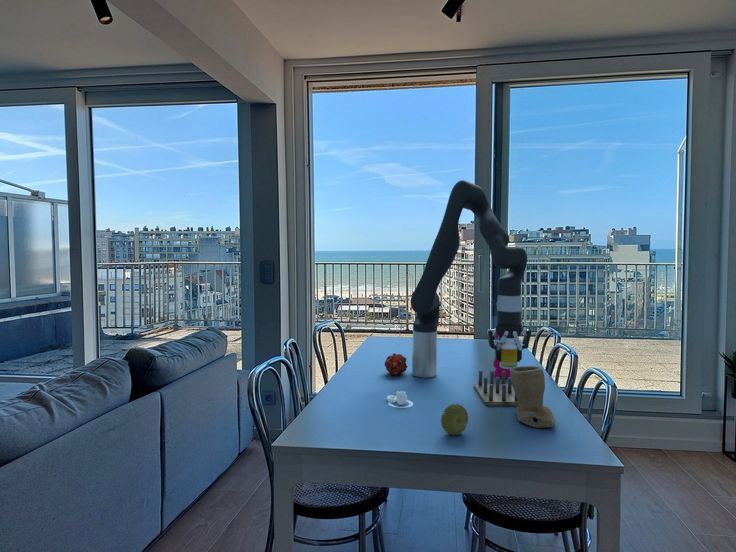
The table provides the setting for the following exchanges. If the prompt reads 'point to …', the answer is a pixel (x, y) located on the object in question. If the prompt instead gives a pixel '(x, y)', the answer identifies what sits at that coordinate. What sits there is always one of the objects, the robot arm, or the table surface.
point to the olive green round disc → (454, 419)
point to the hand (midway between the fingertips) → (508, 361)
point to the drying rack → (496, 391)
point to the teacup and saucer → (399, 399)
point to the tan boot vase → (531, 396)
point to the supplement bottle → (508, 354)
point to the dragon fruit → (396, 364)
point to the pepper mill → (498, 369)
